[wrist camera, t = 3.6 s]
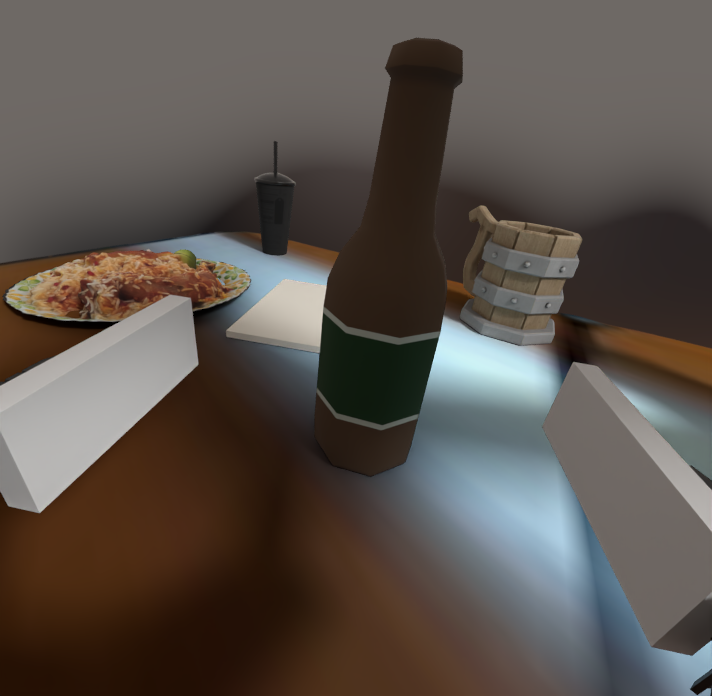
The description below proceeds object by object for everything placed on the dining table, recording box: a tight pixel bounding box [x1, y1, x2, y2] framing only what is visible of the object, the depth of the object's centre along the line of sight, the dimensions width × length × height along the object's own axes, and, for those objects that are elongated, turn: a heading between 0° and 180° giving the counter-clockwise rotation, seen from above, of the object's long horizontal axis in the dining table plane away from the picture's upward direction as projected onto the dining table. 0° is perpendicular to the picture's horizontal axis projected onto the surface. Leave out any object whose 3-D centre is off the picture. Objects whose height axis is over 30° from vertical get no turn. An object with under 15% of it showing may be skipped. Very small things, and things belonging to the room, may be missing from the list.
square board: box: [226, 279, 327, 353], centre depth 47 cm, size 20×20×1 cm
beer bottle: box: [314, 38, 463, 477], centre depth 22 cm, size 8×8×24 cm
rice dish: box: [3, 250, 251, 322], centre depth 47 cm, size 28×28×5 cm
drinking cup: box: [254, 141, 296, 255], centre depth 68 cm, size 8×8×20 cm
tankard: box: [460, 206, 582, 346], centre depth 52 cm, size 20×13×15 cm, turn 19°
